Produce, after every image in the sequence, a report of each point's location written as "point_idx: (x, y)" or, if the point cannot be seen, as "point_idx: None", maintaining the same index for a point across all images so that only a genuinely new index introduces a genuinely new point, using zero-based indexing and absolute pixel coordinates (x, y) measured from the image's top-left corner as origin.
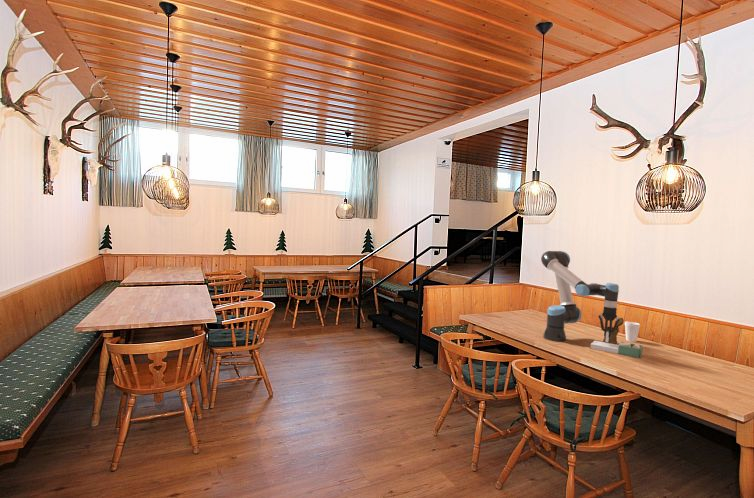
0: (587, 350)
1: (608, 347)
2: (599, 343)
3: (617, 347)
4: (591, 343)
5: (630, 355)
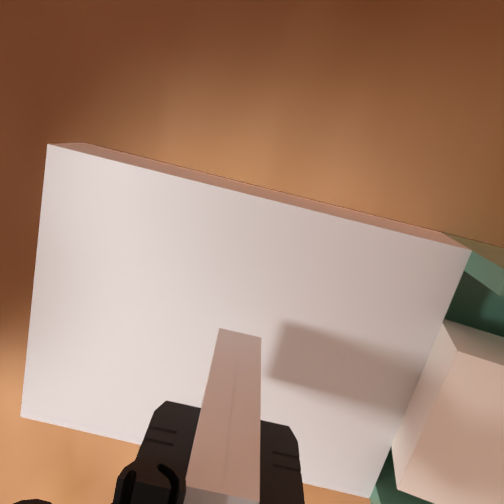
0: (33, 480)
1: None
2: (133, 314)
3: (378, 411)
4: (25, 381)
5: None
